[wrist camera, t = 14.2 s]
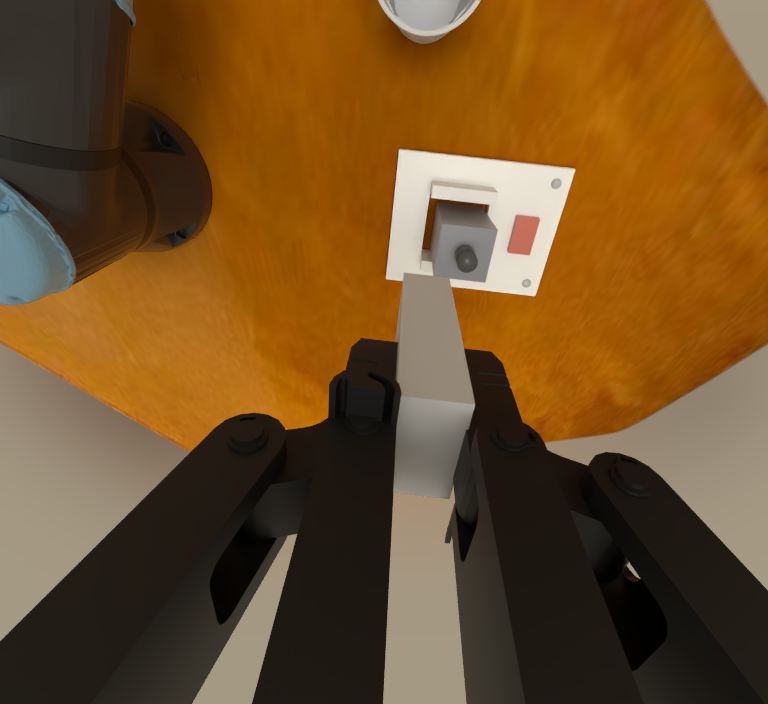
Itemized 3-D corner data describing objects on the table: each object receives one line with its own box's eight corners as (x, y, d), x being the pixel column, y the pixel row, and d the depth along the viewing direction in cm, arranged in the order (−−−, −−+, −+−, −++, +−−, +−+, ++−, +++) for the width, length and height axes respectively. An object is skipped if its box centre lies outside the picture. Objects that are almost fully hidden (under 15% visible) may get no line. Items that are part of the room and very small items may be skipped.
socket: (386, 275, 49) (384, 288, 46) (399, 148, 42) (398, 152, 38) (532, 292, 49) (542, 306, 46) (571, 167, 42) (586, 173, 38)
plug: (429, 245, 47) (434, 286, 37) (436, 201, 45) (443, 231, 34) (472, 250, 47) (489, 292, 37) (481, 206, 45) (502, 237, 34)
